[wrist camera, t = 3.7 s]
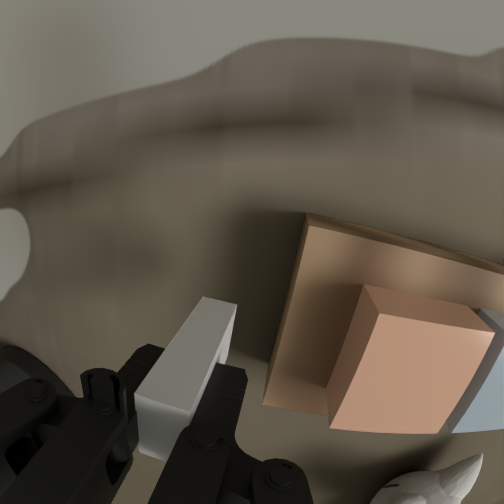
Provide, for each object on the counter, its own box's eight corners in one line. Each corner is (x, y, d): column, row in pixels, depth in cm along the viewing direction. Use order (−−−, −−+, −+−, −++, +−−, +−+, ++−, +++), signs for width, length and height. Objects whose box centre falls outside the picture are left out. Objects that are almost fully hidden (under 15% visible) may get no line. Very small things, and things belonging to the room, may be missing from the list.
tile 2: (325, 388, 15) (329, 428, 12) (363, 283, 13) (379, 313, 10) (421, 398, 15) (436, 433, 12) (466, 305, 13) (495, 333, 10)
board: (268, 364, 20) (262, 404, 16) (305, 212, 17) (309, 225, 13) (482, 389, 18) (501, 419, 14) (534, 275, 15) (566, 294, 12)
